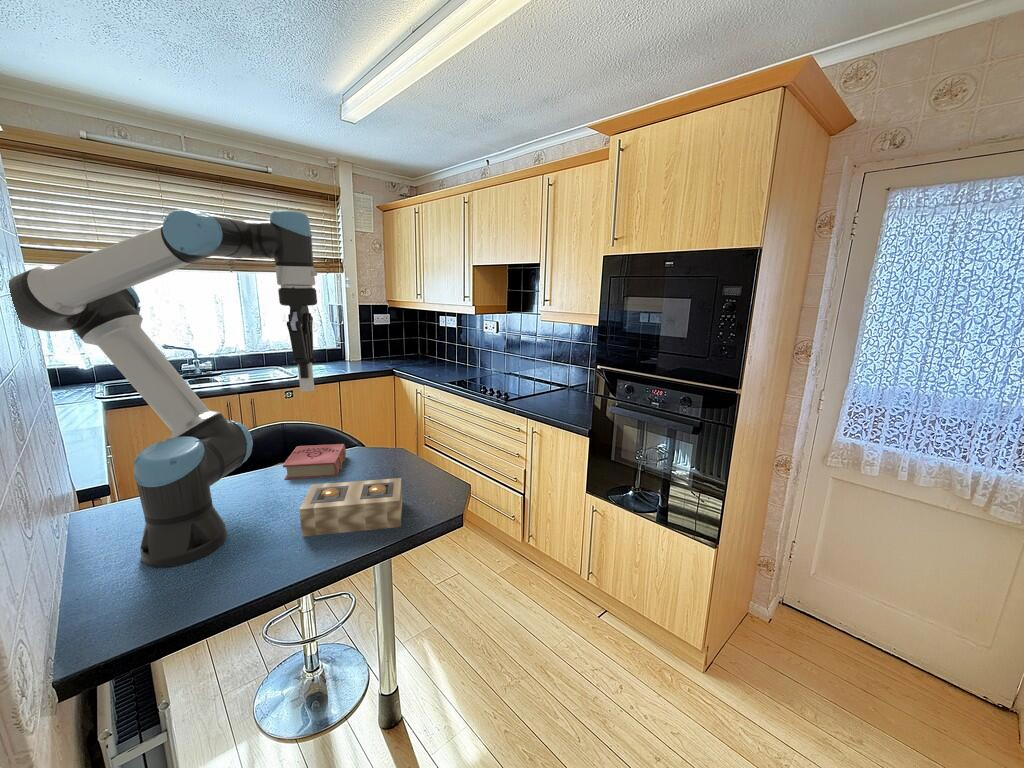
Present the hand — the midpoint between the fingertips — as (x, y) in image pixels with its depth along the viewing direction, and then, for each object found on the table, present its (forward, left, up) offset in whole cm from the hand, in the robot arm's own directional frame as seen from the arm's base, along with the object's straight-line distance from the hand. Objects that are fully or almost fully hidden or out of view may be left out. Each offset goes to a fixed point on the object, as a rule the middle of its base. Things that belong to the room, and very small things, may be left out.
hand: (307, 390), depth 100 cm
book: (-6, +29, -33) cm, 44 cm away
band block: (+9, -3, -32) cm, 34 cm away
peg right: (+15, -3, -32) cm, 35 cm away
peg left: (+3, -3, -32) cm, 32 cm away
